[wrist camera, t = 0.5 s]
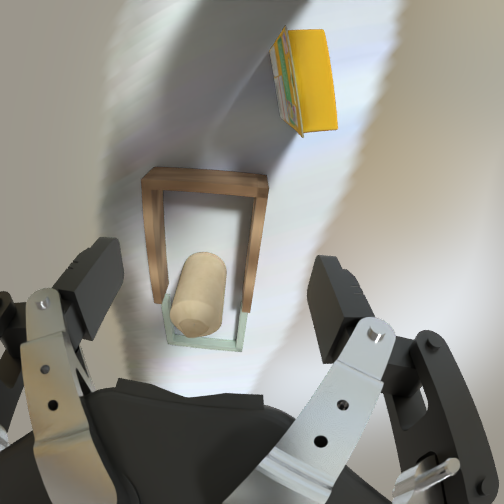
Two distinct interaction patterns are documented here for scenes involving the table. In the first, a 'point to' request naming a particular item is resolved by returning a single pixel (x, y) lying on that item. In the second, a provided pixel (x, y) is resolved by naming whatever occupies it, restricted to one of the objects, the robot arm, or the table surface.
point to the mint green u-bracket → (199, 341)
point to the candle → (199, 296)
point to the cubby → (201, 183)
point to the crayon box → (304, 80)
